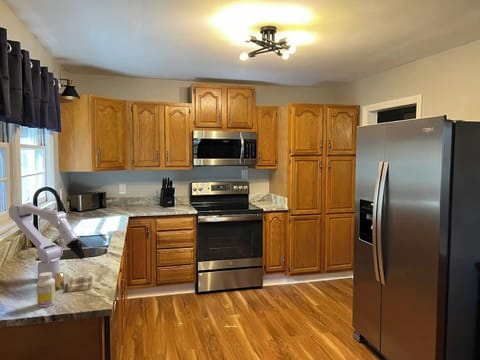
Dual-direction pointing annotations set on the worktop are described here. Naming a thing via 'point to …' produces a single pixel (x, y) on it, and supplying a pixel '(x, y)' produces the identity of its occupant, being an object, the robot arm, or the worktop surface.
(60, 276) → the brass round peg
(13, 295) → the worktop surface
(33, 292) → the worktop surface
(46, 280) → the supplement bottle
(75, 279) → the jig
